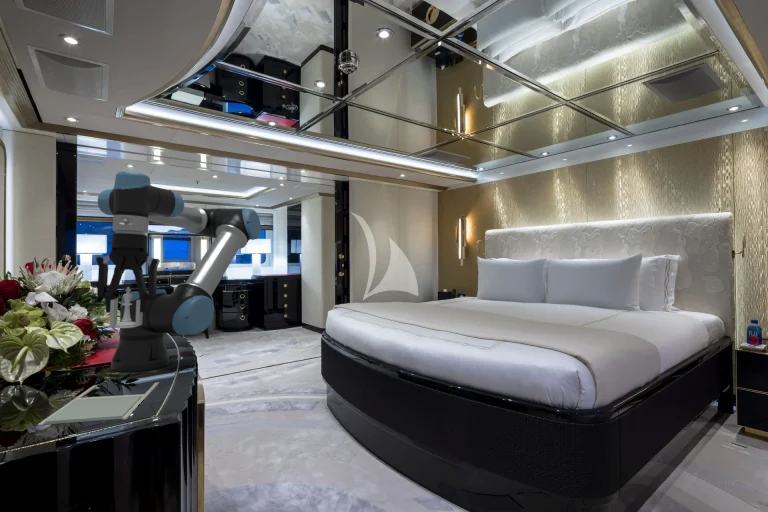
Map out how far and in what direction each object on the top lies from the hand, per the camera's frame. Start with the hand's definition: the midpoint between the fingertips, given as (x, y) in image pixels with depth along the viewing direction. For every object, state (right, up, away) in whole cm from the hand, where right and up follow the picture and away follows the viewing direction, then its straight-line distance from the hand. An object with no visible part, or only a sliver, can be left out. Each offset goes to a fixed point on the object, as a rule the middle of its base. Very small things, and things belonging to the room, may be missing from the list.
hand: (126, 325), depth 98 cm
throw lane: (+2, -16, -9) cm, 18 cm away
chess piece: (0, -1, 0) cm, 1 cm away
